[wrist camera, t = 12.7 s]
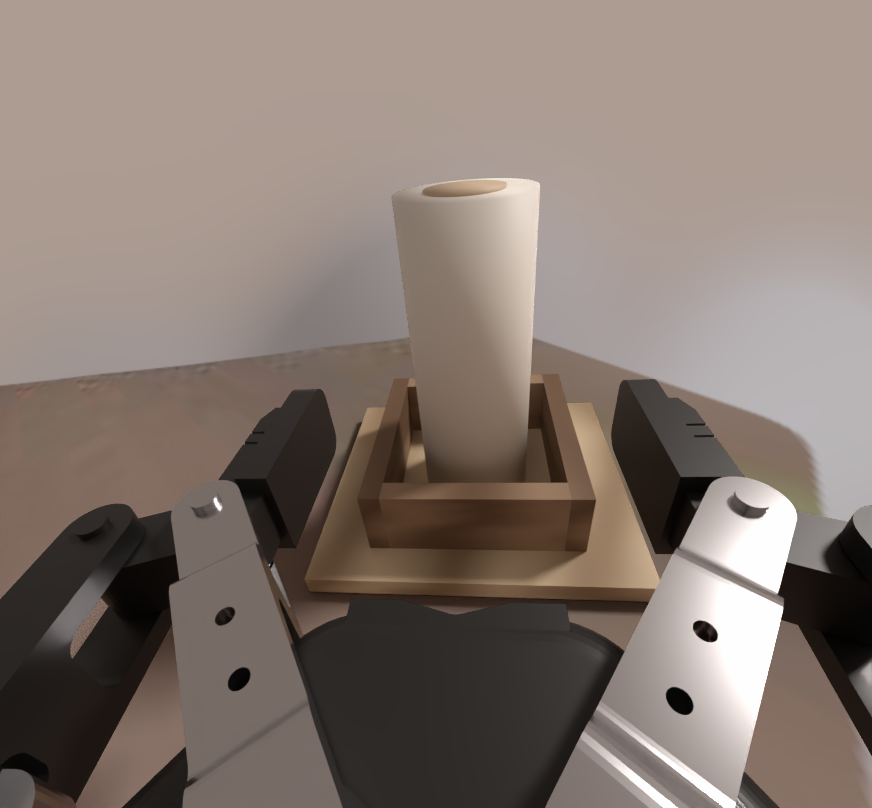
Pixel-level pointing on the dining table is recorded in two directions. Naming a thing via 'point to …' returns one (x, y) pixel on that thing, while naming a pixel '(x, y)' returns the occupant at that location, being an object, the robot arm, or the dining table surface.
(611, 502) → the open wooden box
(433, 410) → the paper towel roll
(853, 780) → the dining table surface
